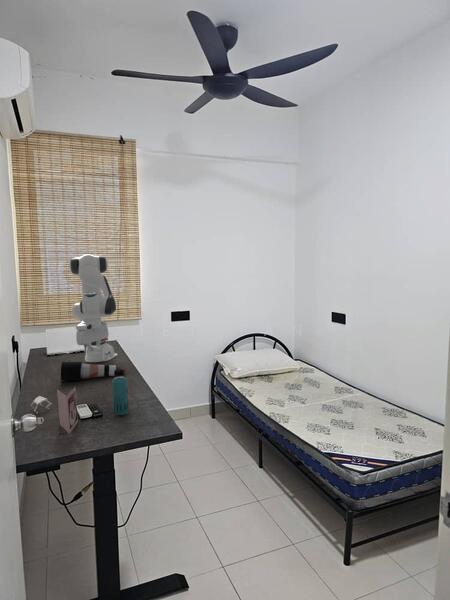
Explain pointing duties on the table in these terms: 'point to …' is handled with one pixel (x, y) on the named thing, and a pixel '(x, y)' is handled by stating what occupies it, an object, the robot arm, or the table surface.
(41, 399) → the origami figure
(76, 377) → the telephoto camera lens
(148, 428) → the table surface
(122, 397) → the beverage bottle
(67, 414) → the greeting card
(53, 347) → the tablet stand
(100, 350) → the usb plug
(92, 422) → the table surface
